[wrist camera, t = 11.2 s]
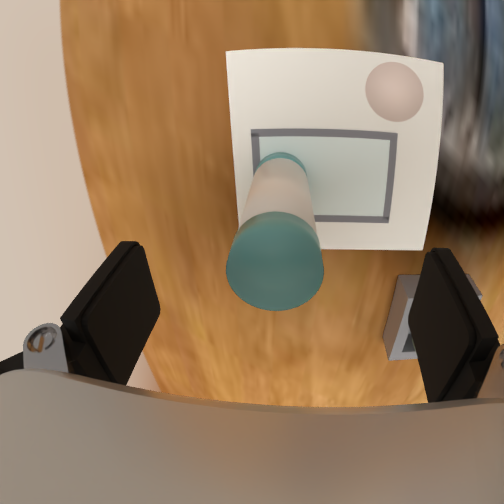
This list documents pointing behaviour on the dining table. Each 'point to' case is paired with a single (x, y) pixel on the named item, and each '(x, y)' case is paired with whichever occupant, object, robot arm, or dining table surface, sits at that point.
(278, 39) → the dining table surface
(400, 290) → the button housing
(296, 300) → the marker
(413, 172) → the sheet
